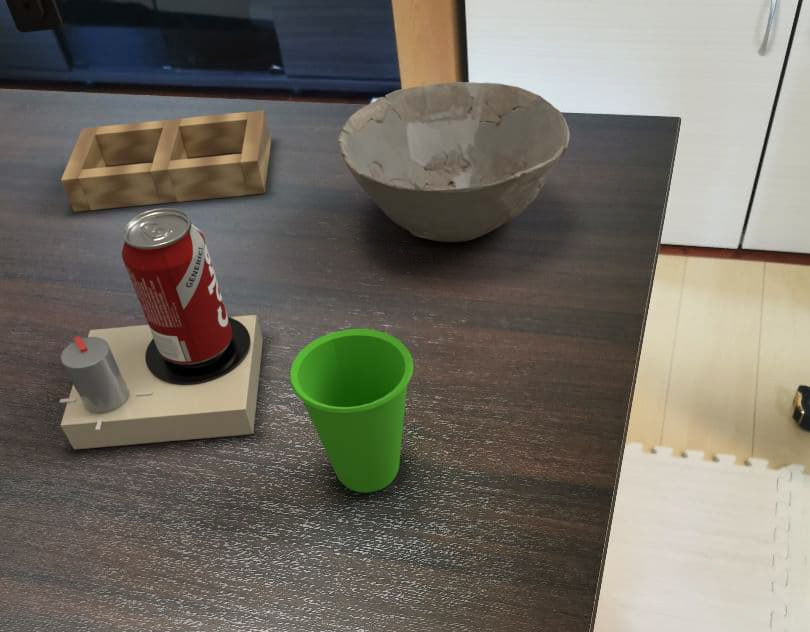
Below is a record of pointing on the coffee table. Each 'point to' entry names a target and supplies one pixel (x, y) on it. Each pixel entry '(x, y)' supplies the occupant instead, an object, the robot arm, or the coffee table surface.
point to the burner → (203, 370)
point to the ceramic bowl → (454, 155)
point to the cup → (356, 402)
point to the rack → (168, 161)
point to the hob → (166, 398)
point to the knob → (95, 374)
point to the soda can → (176, 286)
